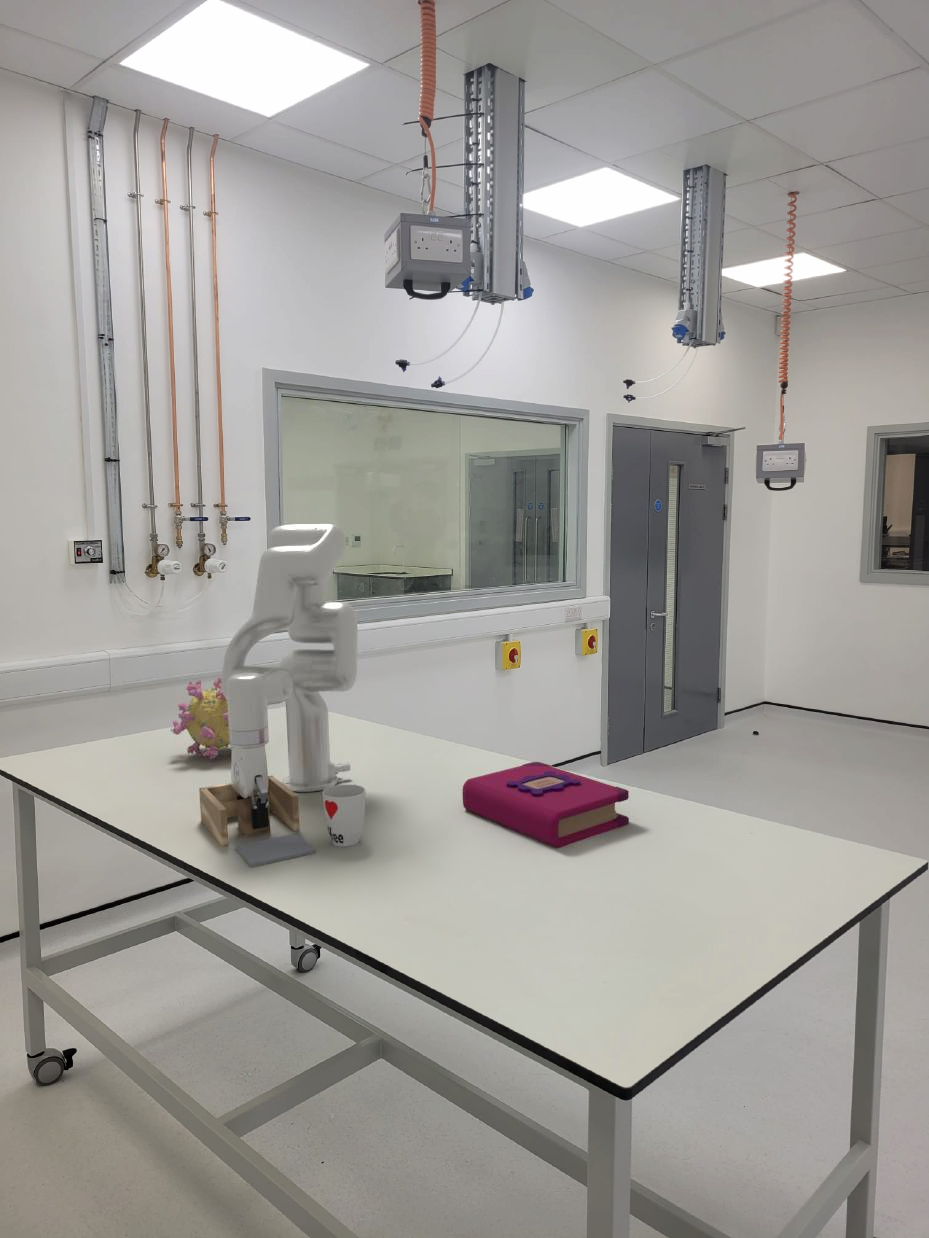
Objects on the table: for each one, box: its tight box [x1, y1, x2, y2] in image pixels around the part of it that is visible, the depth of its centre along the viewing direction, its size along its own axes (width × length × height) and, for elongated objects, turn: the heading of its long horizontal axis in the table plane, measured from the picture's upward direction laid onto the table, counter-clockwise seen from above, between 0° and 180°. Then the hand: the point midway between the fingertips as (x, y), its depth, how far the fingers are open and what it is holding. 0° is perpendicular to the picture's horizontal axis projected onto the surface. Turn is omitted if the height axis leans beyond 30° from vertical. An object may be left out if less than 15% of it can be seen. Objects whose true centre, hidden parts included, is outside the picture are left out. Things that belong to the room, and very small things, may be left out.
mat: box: [235, 832, 316, 868], centre depth 162 cm, size 12×10×1 cm
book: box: [461, 761, 630, 849], centre depth 177 cm, size 21×28×8 cm
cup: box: [322, 784, 367, 848], centre depth 166 cm, size 8×8×10 cm
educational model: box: [169, 677, 232, 760], centre depth 228 cm, size 23×22×20 cm
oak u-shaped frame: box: [198, 775, 301, 847], centre depth 176 cm, size 15×16×7 cm
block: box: [236, 797, 271, 837], centre depth 173 cm, size 5×5×6 cm
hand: (252, 820), depth 173 cm, fingers open, 9 cm apart
